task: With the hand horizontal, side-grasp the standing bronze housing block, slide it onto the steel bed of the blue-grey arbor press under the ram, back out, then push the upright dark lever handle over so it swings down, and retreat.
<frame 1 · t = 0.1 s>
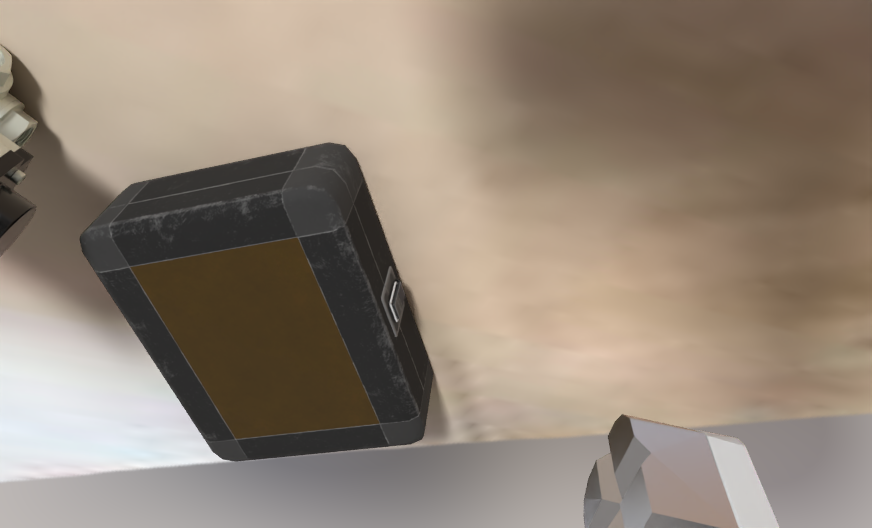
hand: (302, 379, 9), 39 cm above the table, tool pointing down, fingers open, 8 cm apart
cash box: (294, 287, 59), on the table
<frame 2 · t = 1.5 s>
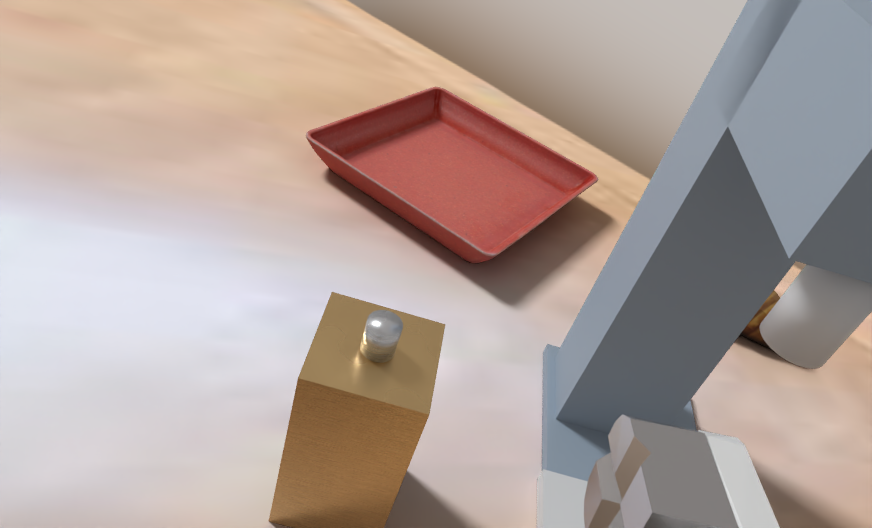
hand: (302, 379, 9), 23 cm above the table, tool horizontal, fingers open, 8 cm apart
croissant: (707, 306, 54), on the table
housing: (335, 488, 34), on the table
plant saucer: (449, 190, 58), on the table
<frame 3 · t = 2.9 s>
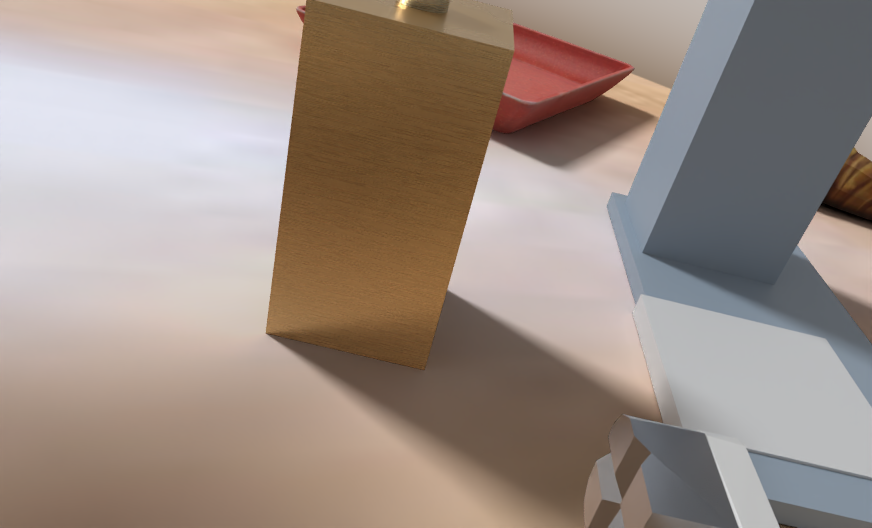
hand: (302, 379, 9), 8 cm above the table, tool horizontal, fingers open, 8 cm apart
croissant: (783, 188, 46), on the table
housing: (359, 306, 23), on the table
press: (753, 398, 24), on the table
plant saucer: (464, 85, 50), on the table
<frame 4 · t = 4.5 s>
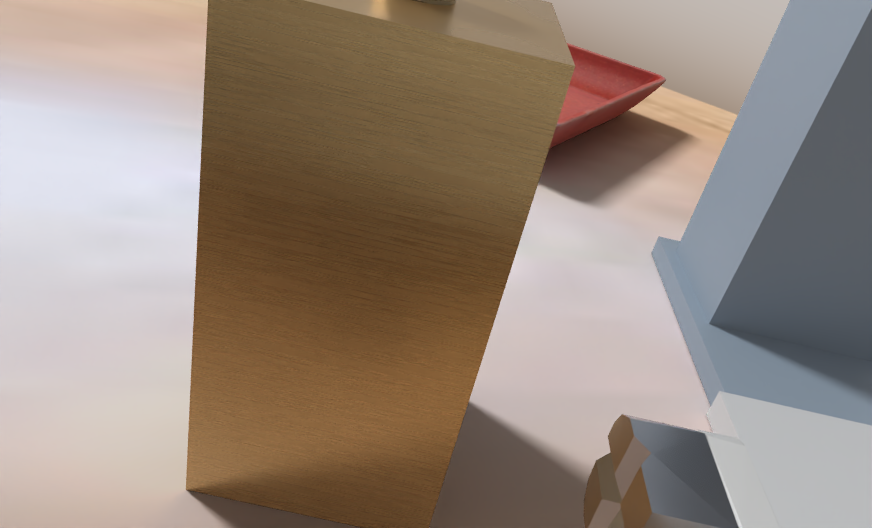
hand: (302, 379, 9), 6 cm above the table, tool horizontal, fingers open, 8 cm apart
housing: (331, 429, 16), on the table
plant saucer: (470, 101, 43), on the table
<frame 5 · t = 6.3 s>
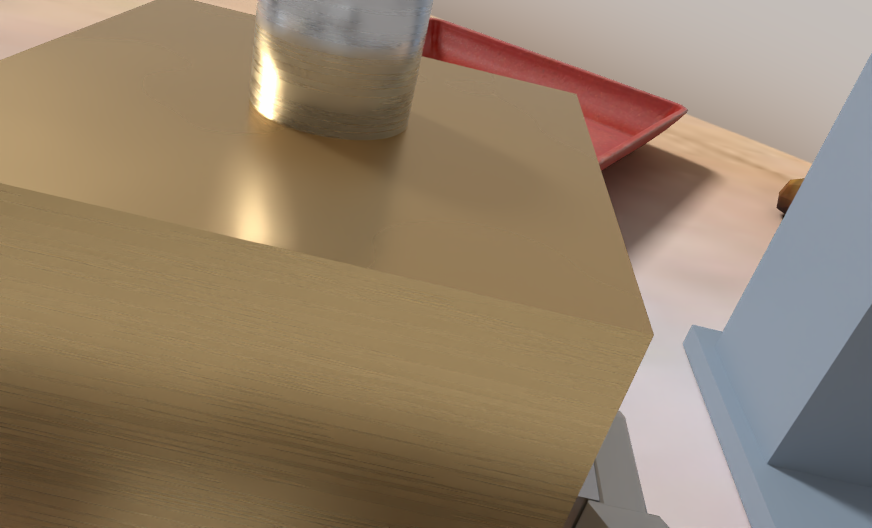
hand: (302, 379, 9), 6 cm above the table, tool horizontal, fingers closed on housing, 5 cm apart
plant saucer: (465, 135, 38), on the table
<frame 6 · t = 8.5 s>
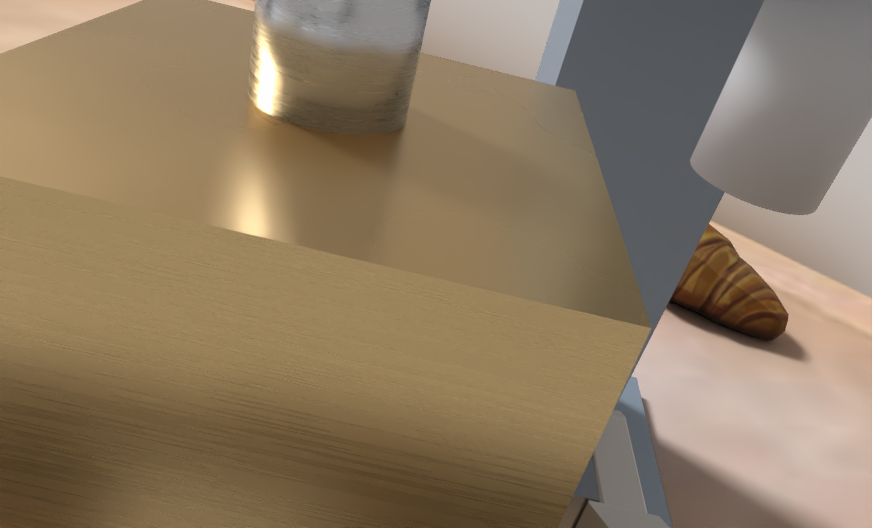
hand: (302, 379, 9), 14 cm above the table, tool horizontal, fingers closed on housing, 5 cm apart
croissant: (667, 291, 43), on the table
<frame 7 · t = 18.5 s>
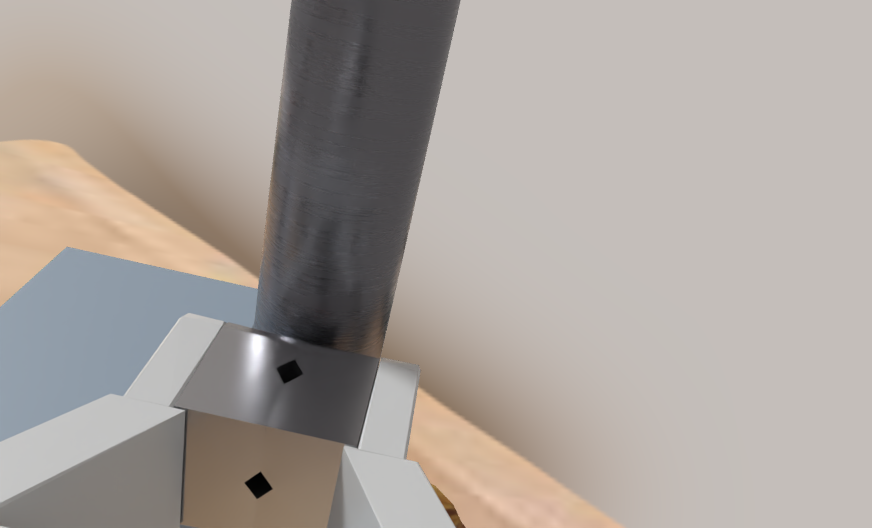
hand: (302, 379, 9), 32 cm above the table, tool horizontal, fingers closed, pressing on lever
lever: (335, 238, 9), point 33 cm above the table, hinge at 3.1°, touching gripper
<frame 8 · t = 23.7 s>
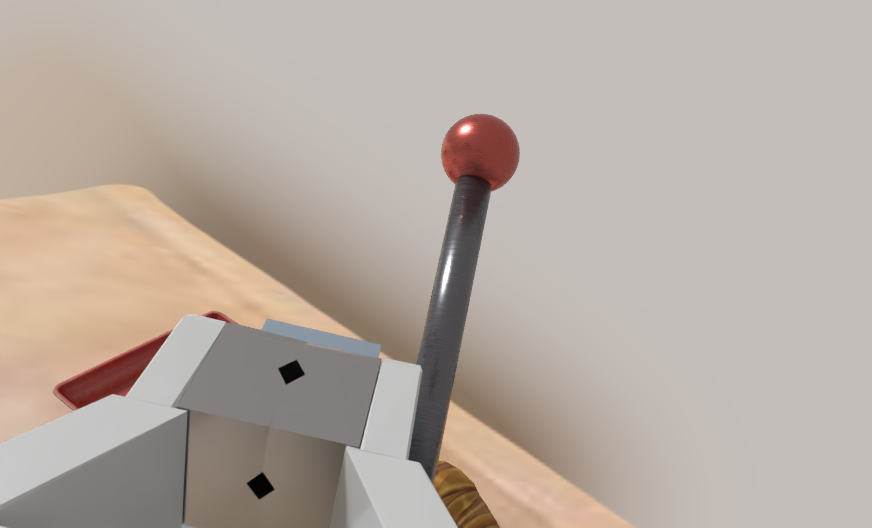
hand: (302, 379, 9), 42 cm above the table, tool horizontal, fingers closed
lever: (446, 319, 32), point 30 cm above the table, hinge at 51.6°
croissant: (434, 515, 60), on the table
plant saucer: (204, 419, 64), on the table
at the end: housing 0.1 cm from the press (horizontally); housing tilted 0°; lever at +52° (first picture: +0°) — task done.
